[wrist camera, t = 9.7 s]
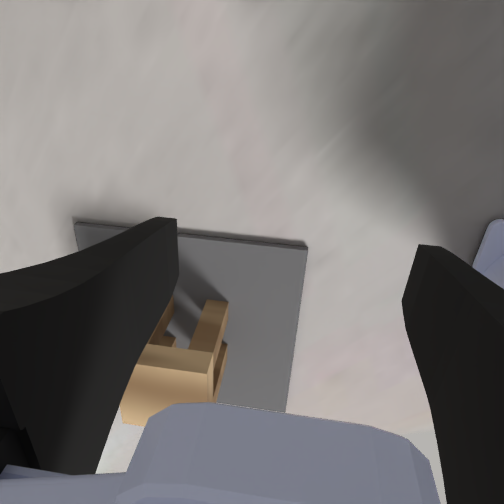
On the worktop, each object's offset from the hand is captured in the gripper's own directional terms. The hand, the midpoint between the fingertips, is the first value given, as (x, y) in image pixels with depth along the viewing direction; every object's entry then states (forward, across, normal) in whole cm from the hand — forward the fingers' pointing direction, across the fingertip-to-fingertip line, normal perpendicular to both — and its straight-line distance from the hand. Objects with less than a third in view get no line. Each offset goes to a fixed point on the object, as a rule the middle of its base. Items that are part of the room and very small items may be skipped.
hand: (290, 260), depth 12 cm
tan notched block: (+10, +6, +12) cm, 16 cm away
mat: (+10, +6, +12) cm, 17 cm away
